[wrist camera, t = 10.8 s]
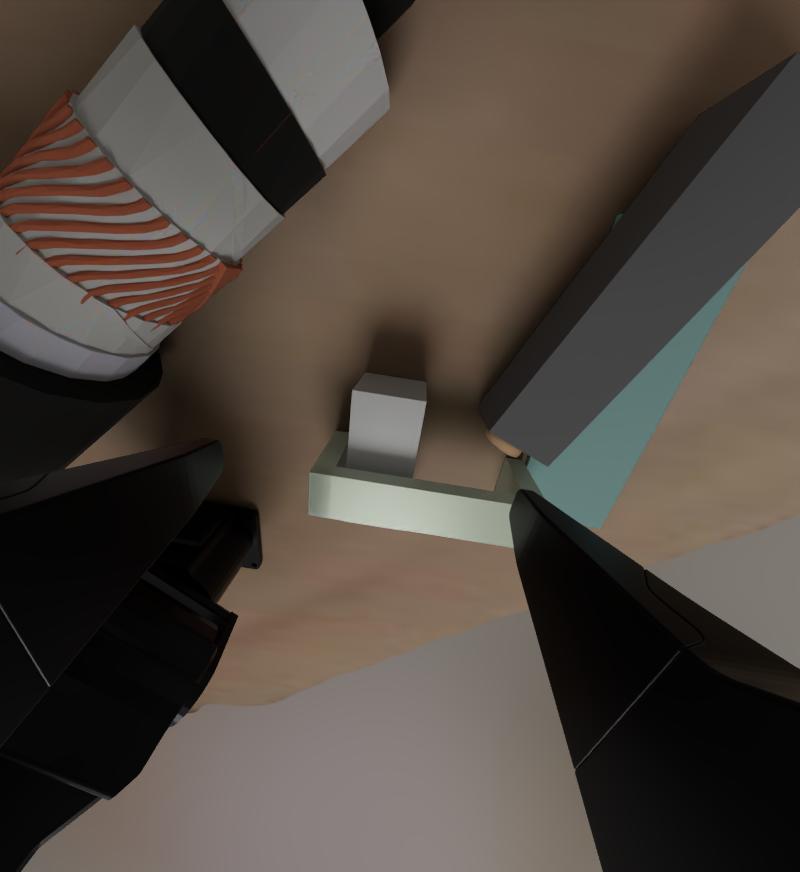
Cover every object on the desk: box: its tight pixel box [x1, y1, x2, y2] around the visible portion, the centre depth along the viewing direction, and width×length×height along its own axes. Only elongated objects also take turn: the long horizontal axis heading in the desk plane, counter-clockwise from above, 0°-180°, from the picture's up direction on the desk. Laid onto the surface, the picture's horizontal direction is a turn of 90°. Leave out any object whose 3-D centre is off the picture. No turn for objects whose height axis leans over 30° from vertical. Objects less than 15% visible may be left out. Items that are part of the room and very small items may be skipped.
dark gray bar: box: [478, 52, 800, 467], centre depth 15 cm, size 18×4×4 cm, turn 149°
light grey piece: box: [309, 431, 545, 548], centre depth 20 cm, size 3×13×6 cm, turn 82°
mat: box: [525, 214, 748, 529], centre depth 19 cm, size 19×7×1 cm, turn 172°
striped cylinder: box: [0, 0, 415, 483], centre depth 14 cm, size 10×34×10 cm, turn 125°
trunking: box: [345, 372, 427, 531], centre depth 20 cm, size 9×4×4 cm, turn 172°
